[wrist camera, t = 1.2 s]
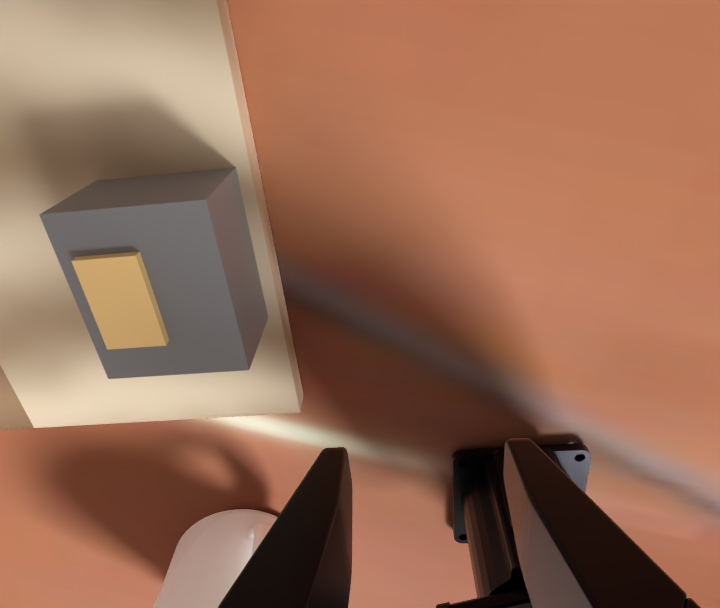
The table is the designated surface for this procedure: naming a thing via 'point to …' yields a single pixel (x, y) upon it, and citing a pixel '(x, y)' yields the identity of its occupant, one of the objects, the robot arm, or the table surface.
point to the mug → (212, 558)
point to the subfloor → (112, 161)
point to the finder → (162, 272)
